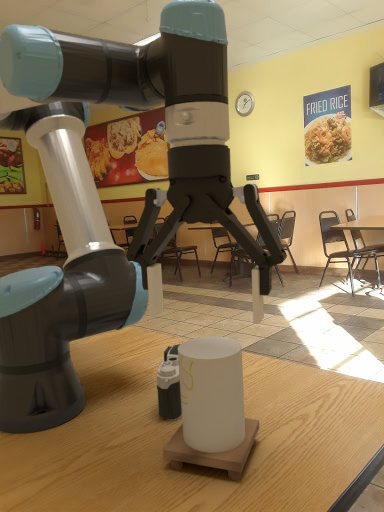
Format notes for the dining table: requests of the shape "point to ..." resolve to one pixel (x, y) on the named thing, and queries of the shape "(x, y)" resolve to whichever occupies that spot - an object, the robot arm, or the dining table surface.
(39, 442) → the dining table surface
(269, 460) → the dining table surface
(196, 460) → the wooden stand
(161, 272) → the robot arm
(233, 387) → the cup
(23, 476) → the dining table surface
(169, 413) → the camera
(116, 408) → the dining table surface
